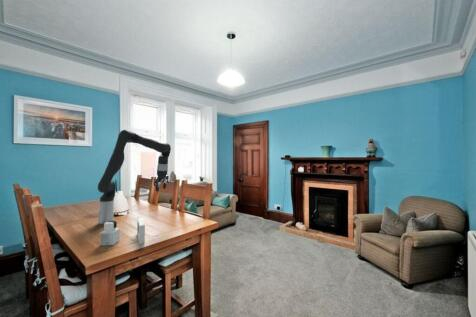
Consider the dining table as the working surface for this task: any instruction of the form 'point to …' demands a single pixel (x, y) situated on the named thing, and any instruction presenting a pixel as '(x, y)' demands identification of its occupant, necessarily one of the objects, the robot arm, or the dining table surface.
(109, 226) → the container
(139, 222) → the plate
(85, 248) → the dining table surface
